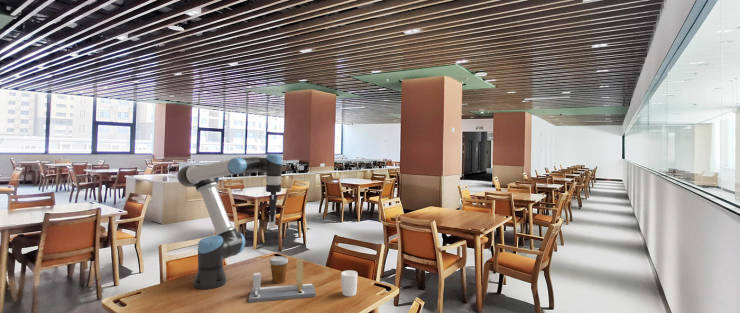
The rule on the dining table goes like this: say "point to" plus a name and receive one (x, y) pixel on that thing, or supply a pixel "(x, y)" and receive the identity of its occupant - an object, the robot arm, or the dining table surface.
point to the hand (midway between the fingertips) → (272, 225)
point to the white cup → (349, 282)
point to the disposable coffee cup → (278, 268)
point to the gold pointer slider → (299, 273)
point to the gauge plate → (278, 291)
